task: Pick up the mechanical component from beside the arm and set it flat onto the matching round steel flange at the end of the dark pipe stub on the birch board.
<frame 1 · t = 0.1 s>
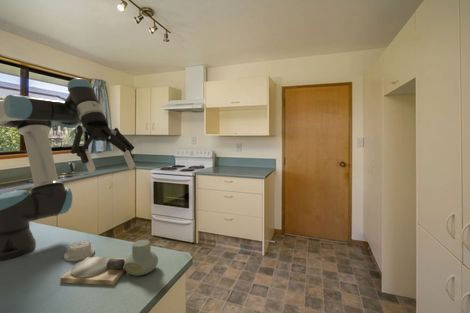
hand: (114, 169, 75), 36 cm above the counter, tool tilted 35°, fingers open, 13 cm apart
grey rounded piece: (141, 271, 80), on the counter
mechanical component: (79, 255, 90), on the counter
flange board: (99, 271, 79), on the counter
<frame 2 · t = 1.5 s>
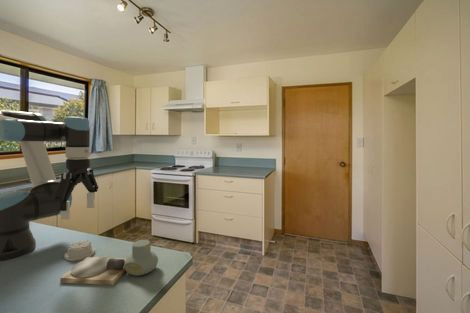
hand: (79, 213, 88), 17 cm above the counter, tool pointing down, fingers open, 13 cm apart
nothing on the counter moved.
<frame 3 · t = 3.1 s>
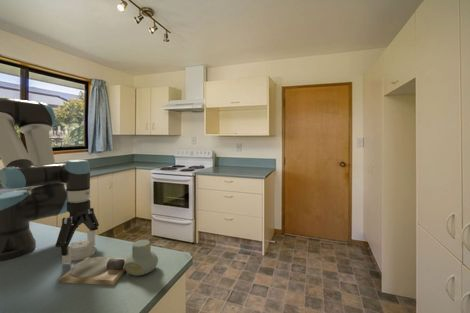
hand: (80, 253, 89), 0 cm above the counter, tool pointing down, fingers open, 13 cm apart
nothing on the counter moved.
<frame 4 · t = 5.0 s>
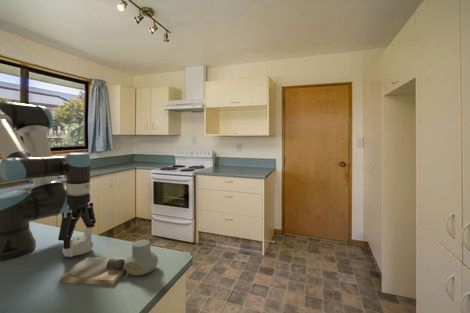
hand: (78, 249, 90), 2 cm above the counter, tool pointing down, fingers closed on mechanical component, 10 cm apart
mechanical component: (78, 250, 90), point 2 cm above the counter, touching gripper
everything else where it was.
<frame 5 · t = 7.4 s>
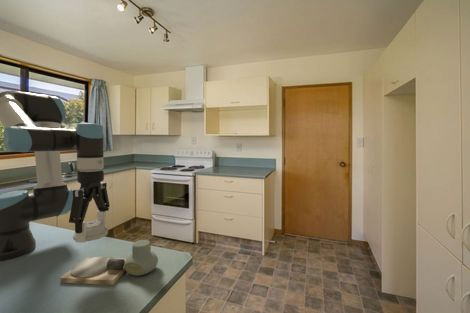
hand: (91, 235, 78), 13 cm above the counter, tool pointing down, fingers closed on mechanical component, 10 cm apart
mechanical component: (91, 236, 78), point 12 cm above the counter, touching gripper
everything else where it was.
when the fingers open (4 cm above the counter, at t = 9.9 s): mechanical component drops 1 cm, resting on flange board.
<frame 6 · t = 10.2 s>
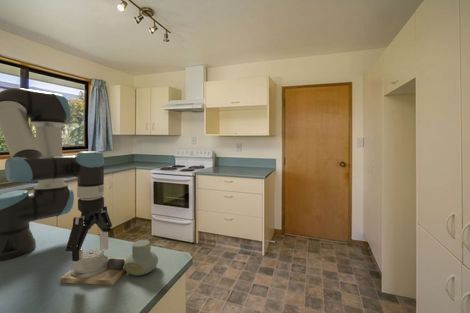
hand: (92, 258, 78), 5 cm above the counter, tool pointing down, fingers open, 13 cm apart
mechanical component: (91, 266, 79), point 2 cm above the counter, touching flange board
everything else where it was.
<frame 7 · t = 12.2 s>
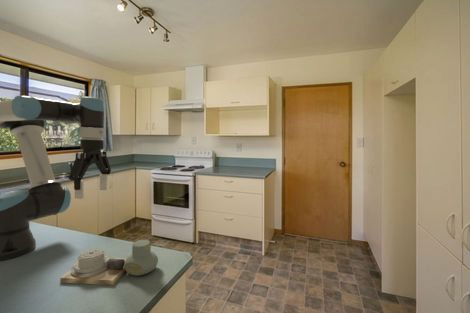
hand: (92, 193, 89), 24 cm above the counter, tool pointing down, fingers open, 13 cm apart
nothing on the counter moved.
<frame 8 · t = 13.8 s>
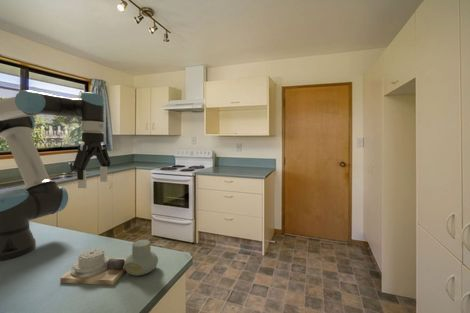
hand: (93, 184, 93), 27 cm above the counter, tool pointing down, fingers open, 13 cm apart
nothing on the counter moved.
at the end: mechanical component 0.2 cm from the target spot on the flange board, point 1.9 cm above the flange board's base; mechanical component tilted 0°; the gripper is holding nothing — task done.
